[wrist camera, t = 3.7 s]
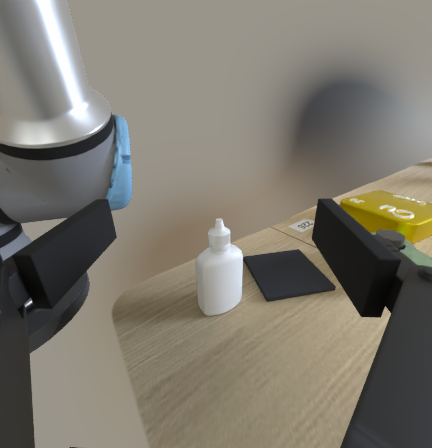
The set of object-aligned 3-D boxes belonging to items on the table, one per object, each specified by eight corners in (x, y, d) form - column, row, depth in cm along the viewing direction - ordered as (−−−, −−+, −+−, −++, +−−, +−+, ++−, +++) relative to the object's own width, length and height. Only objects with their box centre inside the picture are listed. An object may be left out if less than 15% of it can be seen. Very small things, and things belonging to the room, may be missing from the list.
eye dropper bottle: (199, 293, 33) (194, 212, 28) (239, 291, 33) (242, 211, 28) (198, 317, 29) (192, 229, 24) (244, 316, 29) (248, 227, 24)
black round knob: (387, 252, 34) (390, 242, 33) (367, 240, 37) (370, 230, 36) (408, 249, 35) (412, 239, 34) (387, 237, 38) (390, 227, 37)
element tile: (447, 229, 49) (457, 207, 47) (405, 248, 43) (414, 223, 40) (374, 205, 61) (379, 187, 59) (333, 217, 55) (337, 197, 53)
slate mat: (266, 301, 31) (267, 298, 31) (243, 259, 40) (243, 256, 40) (335, 290, 33) (335, 286, 33) (298, 252, 42) (298, 249, 42)
